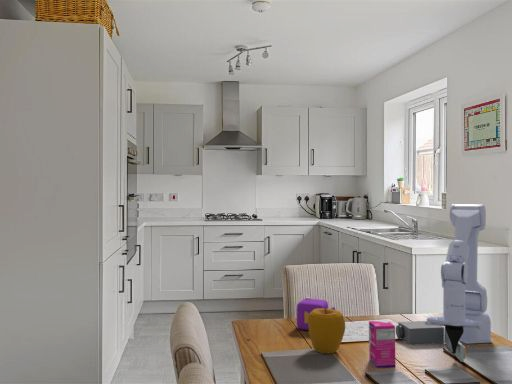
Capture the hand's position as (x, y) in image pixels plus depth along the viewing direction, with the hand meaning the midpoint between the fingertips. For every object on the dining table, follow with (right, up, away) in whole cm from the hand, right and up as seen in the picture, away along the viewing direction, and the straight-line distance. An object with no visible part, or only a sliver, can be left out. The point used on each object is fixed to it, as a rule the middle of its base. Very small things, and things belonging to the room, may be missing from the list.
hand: (454, 352), depth 137 cm
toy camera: (-35, -3, +32) cm, 47 cm away
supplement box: (-21, -2, -3) cm, 21 cm away
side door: (+3, -2, +7) cm, 8 cm away
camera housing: (-3, -2, +19) cm, 19 cm away
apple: (-35, -2, +8) cm, 36 cm away
